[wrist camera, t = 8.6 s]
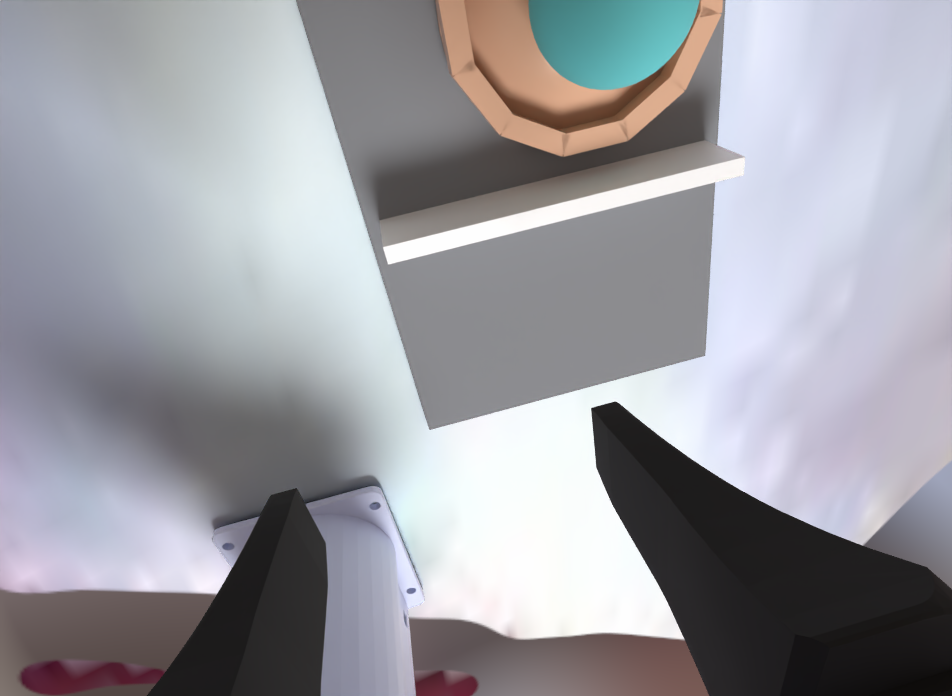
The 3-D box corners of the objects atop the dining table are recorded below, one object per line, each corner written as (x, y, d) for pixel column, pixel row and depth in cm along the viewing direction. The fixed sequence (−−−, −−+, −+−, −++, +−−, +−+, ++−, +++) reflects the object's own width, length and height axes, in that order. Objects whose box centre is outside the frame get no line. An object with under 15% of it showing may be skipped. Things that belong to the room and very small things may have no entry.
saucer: (697, 113, 20) (716, 119, 19) (465, 169, 19) (471, 179, 18) (709, -216, 15) (735, -232, 14) (403, -152, 14) (407, -163, 13)
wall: (703, 157, 21) (743, 175, 18) (384, 236, 20) (387, 264, 18) (704, 140, 20) (745, 156, 18) (379, 220, 20) (382, 247, 17)
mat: (700, 351, 26) (705, 355, 26) (428, 424, 25) (429, 429, 25) (728, -208, 15) (737, -212, 15) (263, -110, 15) (261, -112, 14)
